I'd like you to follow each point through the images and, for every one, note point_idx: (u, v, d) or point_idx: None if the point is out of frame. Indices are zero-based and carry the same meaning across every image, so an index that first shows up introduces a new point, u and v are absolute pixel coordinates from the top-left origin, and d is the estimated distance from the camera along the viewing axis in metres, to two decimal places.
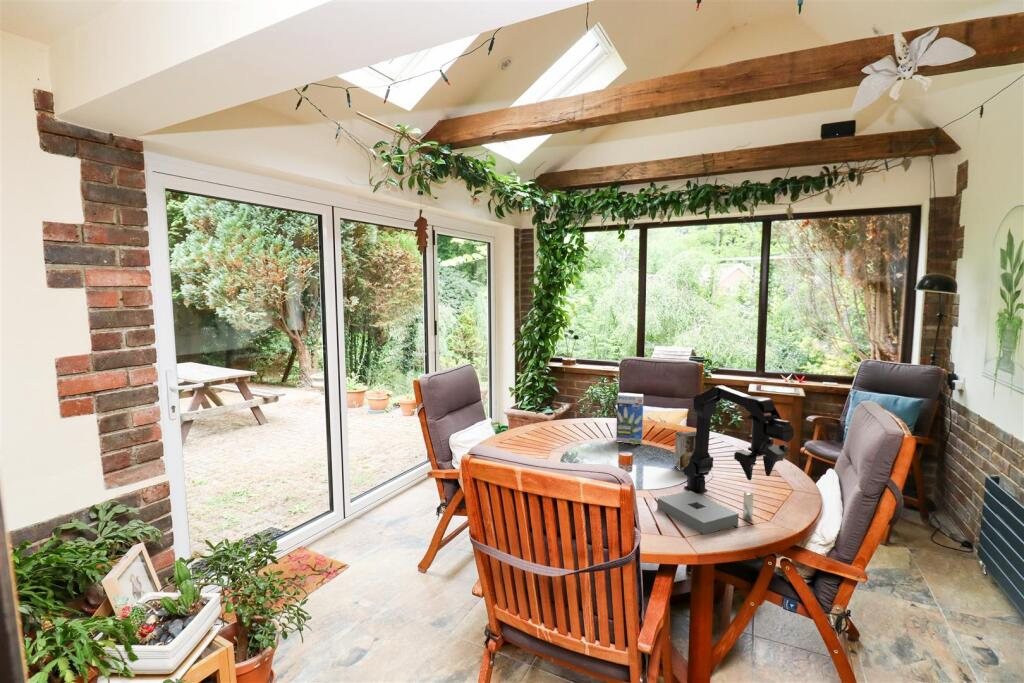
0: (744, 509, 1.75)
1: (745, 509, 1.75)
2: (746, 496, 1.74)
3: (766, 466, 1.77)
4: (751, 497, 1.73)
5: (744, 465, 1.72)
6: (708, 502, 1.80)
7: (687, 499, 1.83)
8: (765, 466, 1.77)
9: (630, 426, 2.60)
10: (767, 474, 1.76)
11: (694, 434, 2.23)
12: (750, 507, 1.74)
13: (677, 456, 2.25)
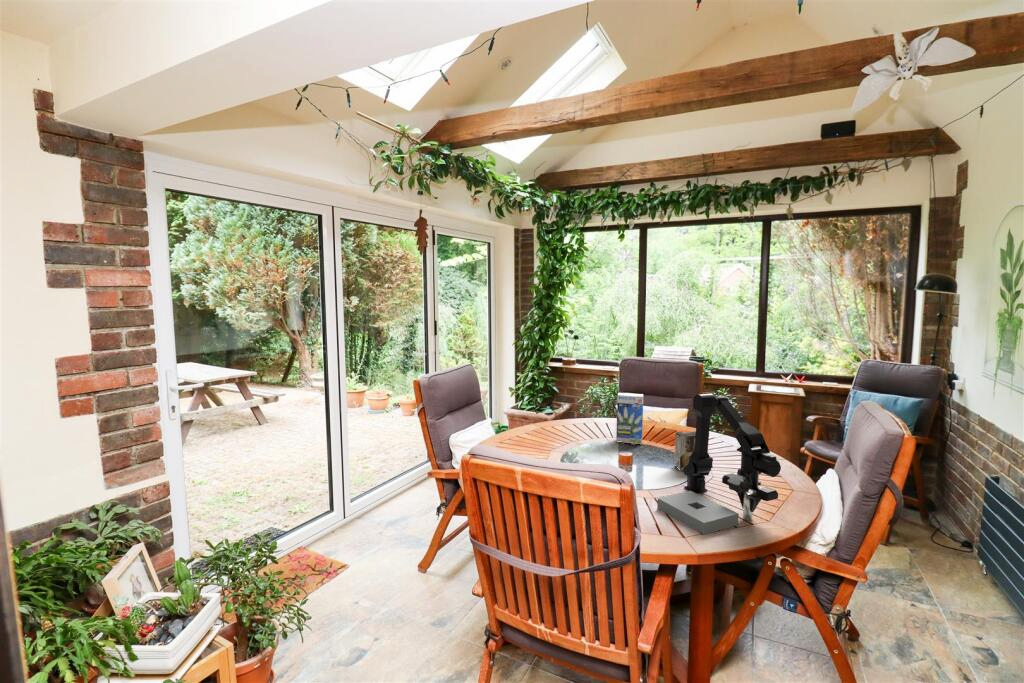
0: (744, 509, 1.75)
1: (745, 509, 1.75)
2: (746, 496, 1.74)
3: None
4: None
5: None
6: (708, 502, 1.80)
7: (687, 499, 1.83)
8: None
9: (630, 426, 2.60)
10: None
11: (694, 434, 2.23)
12: None
13: (677, 456, 2.25)
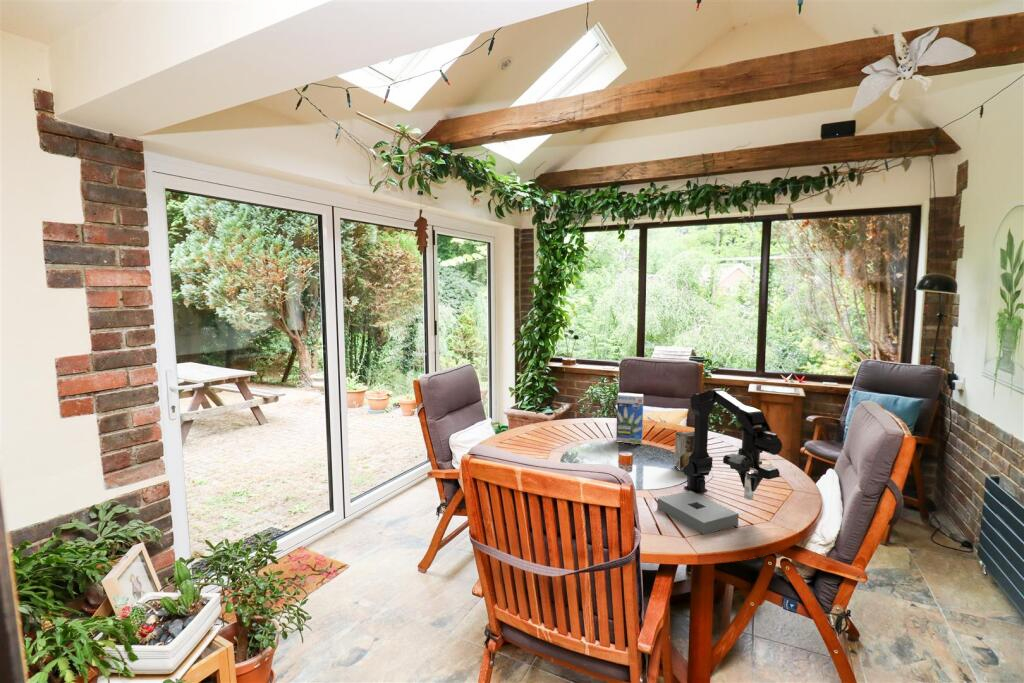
0: (745, 489, 1.74)
1: (746, 489, 1.74)
2: (747, 476, 1.73)
3: None
4: None
5: None
6: (708, 502, 1.80)
7: (687, 499, 1.83)
8: None
9: (630, 426, 2.60)
10: None
11: None
12: None
13: (677, 456, 2.25)
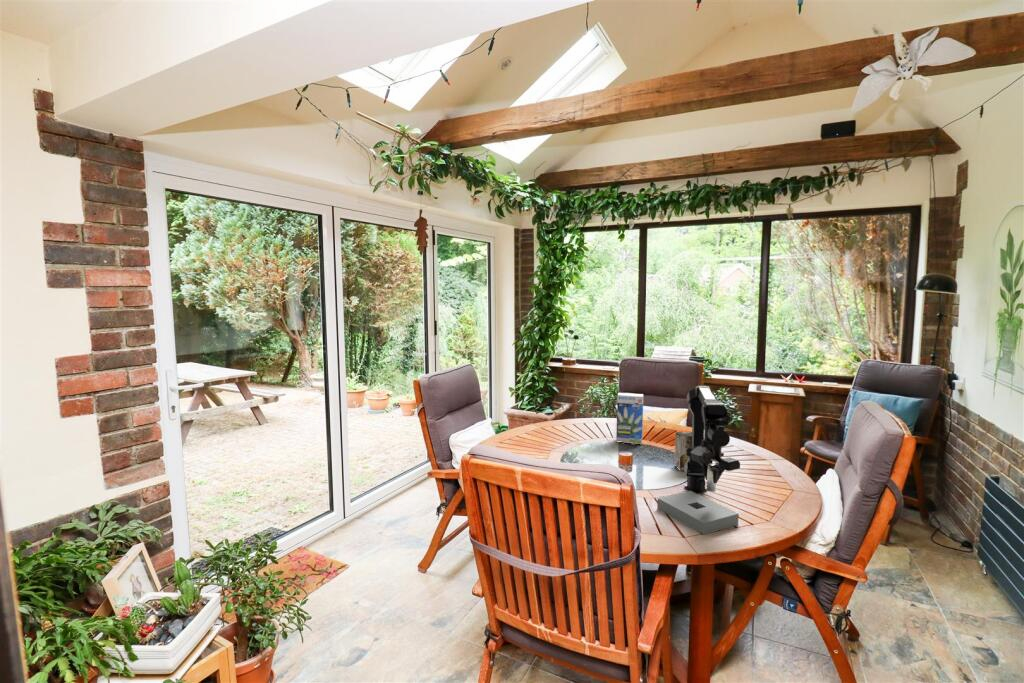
0: (707, 480, 1.75)
1: (708, 481, 1.75)
2: (709, 468, 1.74)
3: None
4: None
5: None
6: (708, 502, 1.80)
7: (687, 499, 1.83)
8: None
9: (630, 426, 2.60)
10: None
11: None
12: None
13: (677, 456, 2.25)
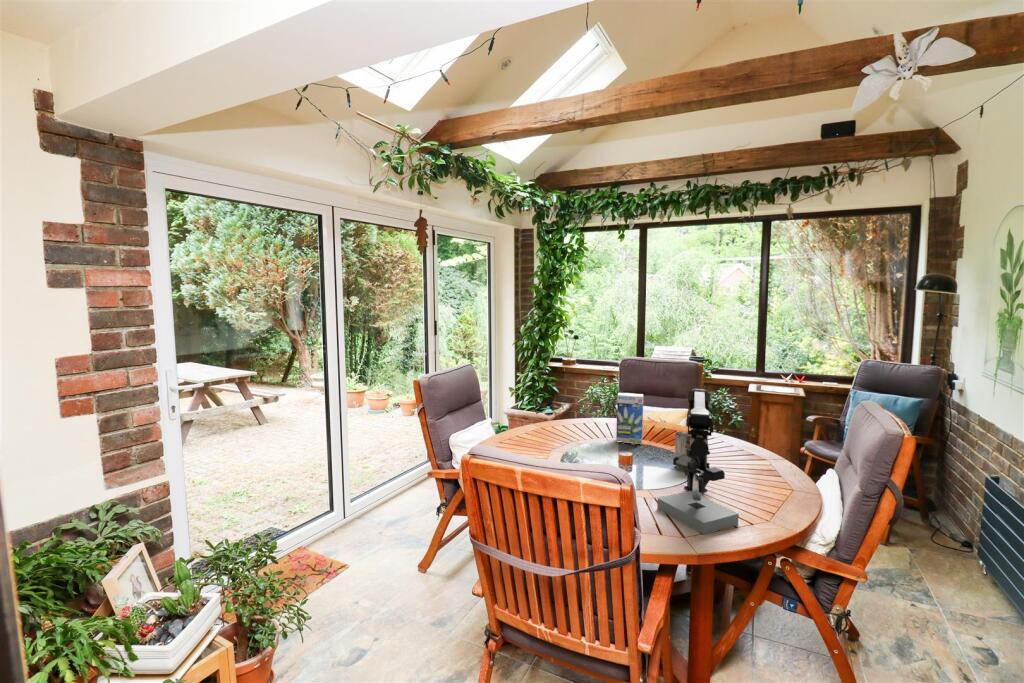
0: (693, 490, 1.76)
1: (694, 490, 1.76)
2: (695, 477, 1.75)
3: None
4: None
5: (693, 473, 1.79)
6: (708, 502, 1.80)
7: (687, 499, 1.83)
8: None
9: (630, 426, 2.60)
10: None
11: None
12: (698, 487, 1.75)
13: None
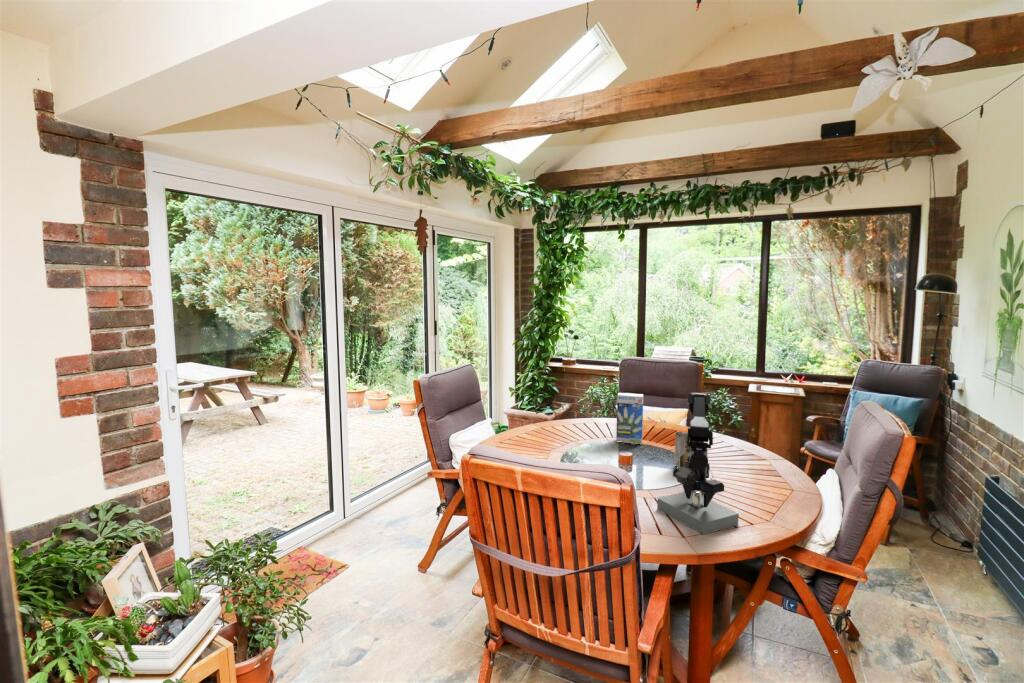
0: None
1: (693, 507, 1.76)
2: (694, 495, 1.76)
3: None
4: (699, 495, 1.75)
5: None
6: None
7: (687, 499, 1.83)
8: None
9: (630, 426, 2.60)
10: None
11: None
12: (698, 505, 1.75)
13: (677, 456, 2.25)
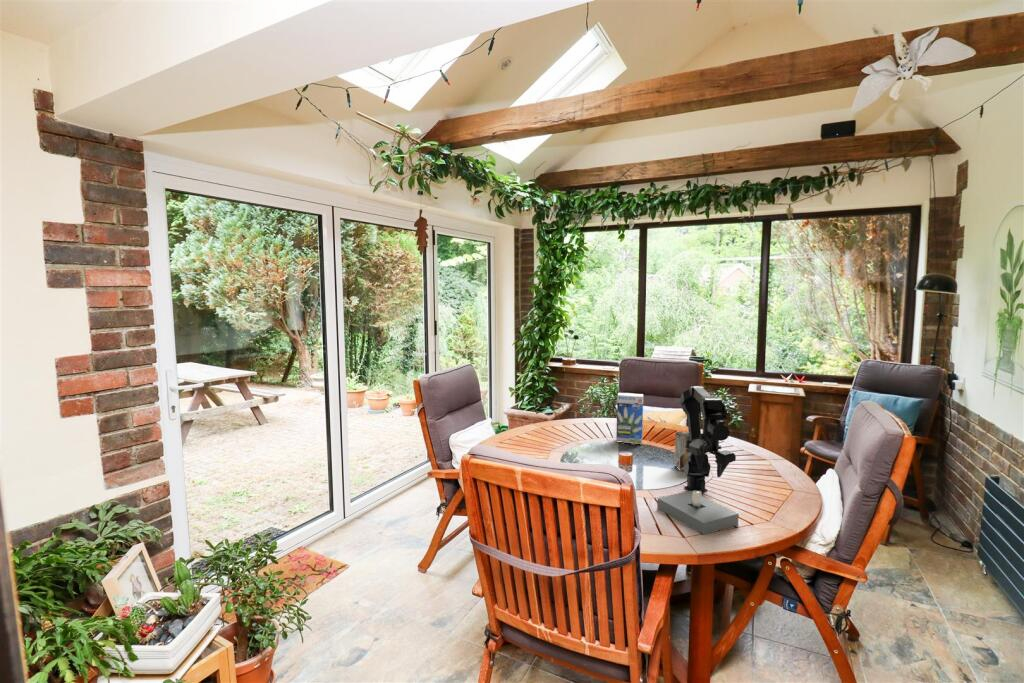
0: None
1: (693, 507, 1.76)
2: (694, 495, 1.76)
3: None
4: (699, 495, 1.75)
5: None
6: (708, 502, 1.80)
7: (687, 499, 1.83)
8: None
9: (630, 426, 2.60)
10: None
11: None
12: (698, 505, 1.75)
13: (677, 456, 2.25)
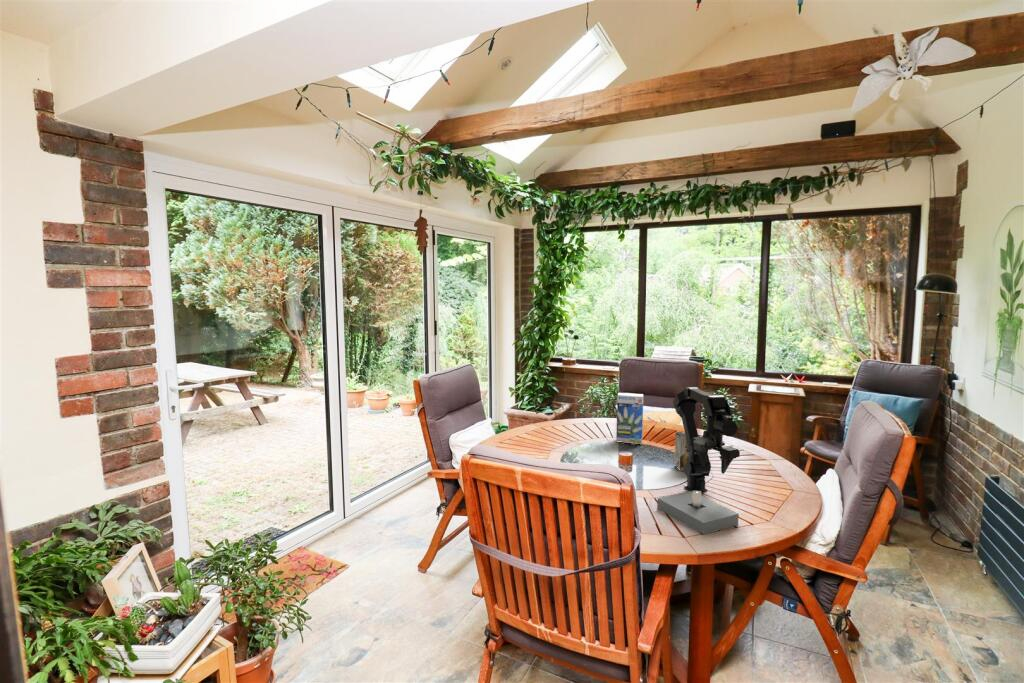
0: None
1: (693, 507, 1.76)
2: (694, 495, 1.76)
3: None
4: (699, 495, 1.75)
5: None
6: (708, 502, 1.80)
7: (687, 499, 1.83)
8: None
9: (630, 426, 2.60)
10: None
11: None
12: (698, 505, 1.75)
13: (677, 456, 2.25)
